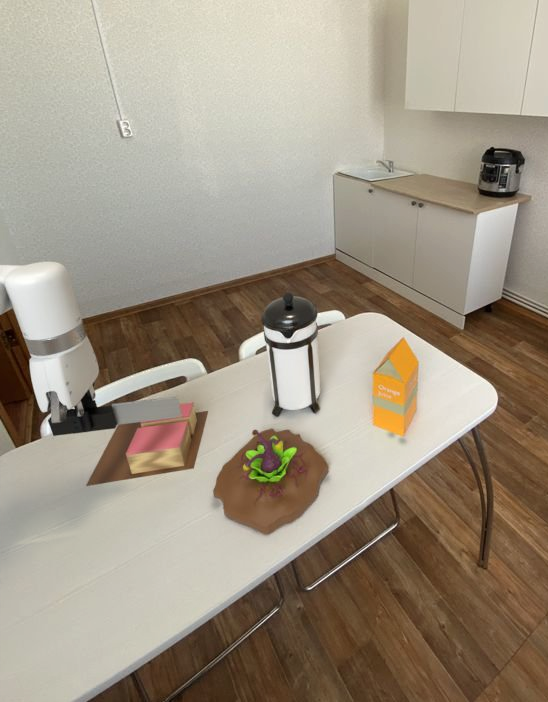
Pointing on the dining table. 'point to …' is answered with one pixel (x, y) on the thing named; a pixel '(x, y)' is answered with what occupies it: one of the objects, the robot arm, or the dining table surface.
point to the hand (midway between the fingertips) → (86, 424)
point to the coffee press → (292, 353)
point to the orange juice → (395, 389)
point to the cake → (148, 450)
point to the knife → (124, 414)
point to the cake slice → (178, 418)
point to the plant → (270, 480)
